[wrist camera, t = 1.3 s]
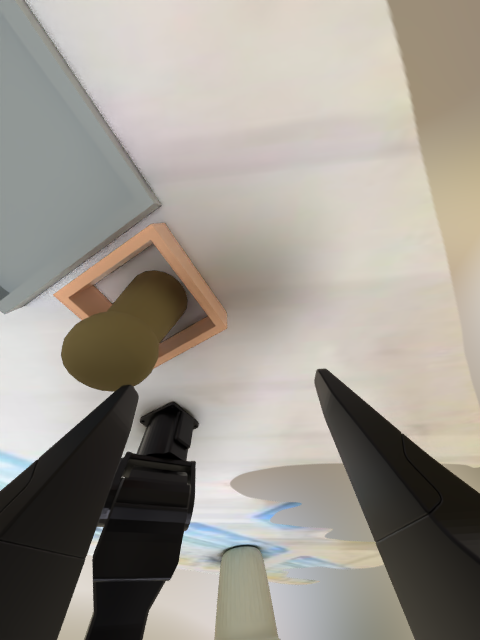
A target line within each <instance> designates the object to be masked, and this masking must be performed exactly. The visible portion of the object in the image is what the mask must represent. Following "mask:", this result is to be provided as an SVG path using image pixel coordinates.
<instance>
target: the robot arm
mask: <svg viewBox="0 0 480 640" xmlns="http://www.w3.org/2000/svg"><path fill="white" fill-rule="evenodd" d="M314 382H315V387H316V390H317V394H318V397H319V401H320V404H321V408H322V411H323V414H324V417H325V420H326V423H327V425H328V427H329V430H330V432H331V435H332V437H333V440H334V442H335V445H336V447H337V449H338V452H339V454H340V457H341V459H342V462H343V464H344V467H345V469H346V471H347V474H348V476H349V479H350V481H351V484H352V486H353V489H354V491H355V494H356V496H357V498H358V501H359V503H360V505H361V508H362V511H363V513H364V516H365V518H366V520H367V523H368V525H369V528H370V530H371V533H372V535H373V537H374V540H375V542H376V545H377V548H378V550H379V553H380V555H381V557H382V560H383V562H384V565H385V567H386V569H387V572H388V575H389V577H390V580H391V582H392V584H393V587H394V589H395V591H396V594H397V597H398V599H399V601H400V604H401V606H402V609H403V611H404V614H405V616H406V618H407V621H408V624H409V626H410V629H411V631H412V633H413V636H414V638H415V640H480V493H478V492H477V491H476V490H474V489H473V488H471V487H470V486H469V485H468V484H466V483H465V482H464V481H462V480H461V479H459V478H458V477H457V476H456V475H454V474H453V473H452V472H450V471H449V470H448V469H446V468H445V467H444V466H442V465H441V464H440V463H439V462H437V461H436V460H435V459H433V458H432V457H431V456H429V455H428V454H427V453H426V452H425V451H423V450H422V449H421V448H420V447H418V446H417V445H416V444H415V443H414V442H412V441H411V440H410V439H409V438H408V437H406V436H405V435H404V434H401V432H400V431H399V430H398V429H397V428H396V427H395V426H393V425H392V424H391V423H390V422H389V421H387V420H386V419H385V418H384V417H383V416H381V415H380V414H379V413H378V412H377V411H376V410H374V409H373V408H372V407H371V406H370V405H368V404H367V403H366V402H365V401H364V400H363V399H361V398H360V397H359V396H358V395H357V394H355V393H354V392H353V391H352V390H351V389H350V388H348V387H347V386H346V385H345V384H344V383H342V382H341V381H340V380H339V379H338V378H337V377H335V376H334V375H333V374H332V373H331V372H329V371H328V370H327V369H317V371H316V375H315V380H314ZM138 398H139V397H138V393H137V392H136V390H135V389H134V387H133V386H132V385H123V386H121V387H120V388H118V389H117V390H116V391H115V392H114V393H113V394H112V395H110V396H109V397H108V398H107V399H106V400H105V401H104V402H102V403H101V404H100V405H99V406H98V407H97V408H96V409H94V410H93V411H92V412H91V413H90V414H89V415H88V416H86V417H85V418H84V419H83V420H82V421H81V422H80V423H78V424H77V425H76V426H75V427H74V428H73V429H72V430H70V431H69V432H68V433H67V434H66V435H65V436H64V437H62V438H61V439H60V440H59V441H58V442H57V443H56V444H54V445H53V446H52V447H51V448H50V449H49V450H48V451H46V452H45V453H44V454H43V455H42V456H41V457H40V458H39V459H38V460H36V461H35V462H34V463H33V464H31V465H30V466H29V467H28V468H27V469H26V470H25V471H23V472H22V473H21V474H20V475H19V476H17V477H16V478H15V479H14V480H13V481H12V482H10V483H9V484H8V485H7V486H6V487H4V488H3V489H2V490H1V491H0V640H57V638H58V635H59V632H60V630H61V626H62V624H63V621H64V618H65V615H66V613H67V609H68V607H69V604H70V601H71V598H72V596H73V593H74V590H75V587H76V584H77V581H78V578H79V576H80V573H81V570H82V567H83V564H84V562H85V558H86V556H87V553H88V550H89V547H90V544H91V541H92V539H93V536H94V533H95V530H96V527H104V528H103V530H102V533H101V536H100V538H99V541H98V544H97V546H96V549H95V551H94V554H93V560H92V561H93V601H94V612H93V615H92V618H91V621H90V624H89V626H88V629H87V632H86V635H85V638H84V640H142V639H143V634H144V630H145V625H146V621H147V616H148V612H149V609H150V608H151V606H152V604H153V602H154V601H155V599H156V597H157V595H158V594H159V592H160V590H161V588H162V587H163V585H164V583H165V581H169V580H170V579H171V577H172V575H173V573H174V571H175V569H176V567H177V565H178V562H179V555H180V549H181V543H182V538H183V533H184V531H186V530H187V529H188V527H189V524H190V521H191V517H192V512H193V507H194V499H195V465H196V462H195V461H191V462H190V461H186V459H187V452H188V449H189V448H190V445H191V438H192V431H193V429H196V428H198V426H199V423H198V422H197V421H196V420H195V419H193V418H192V417H191V416H190V415H189V414H188V413H186V412H185V411H184V410H183V409H182V408H181V407H179V406H178V405H177V404H176V403H170V404H168V405H166V406H164V407H162V408H160V409H157V410H155V411H153V412H151V413H149V414H147V415H145V416H143V417H141V419H140V423H142V424H143V425H145V426H146V427H147V428H146V430H145V433H144V436H143V438H142V441H141V444H140V446H139V449H138V452H137V454H133V453H132V452H127V453H126V455H125V457H124V458H121V456H122V454H123V451H124V448H125V445H126V442H127V439H128V437H129V434H130V431H131V427H132V423H133V419H134V415H135V411H136V407H137V403H138ZM123 477H125V478H123Z"/></svg>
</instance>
